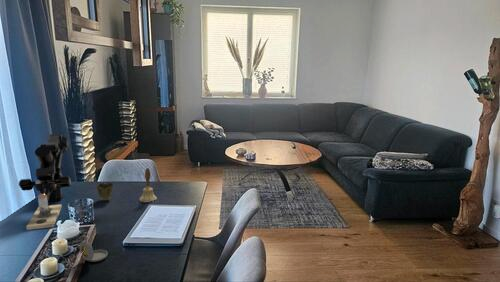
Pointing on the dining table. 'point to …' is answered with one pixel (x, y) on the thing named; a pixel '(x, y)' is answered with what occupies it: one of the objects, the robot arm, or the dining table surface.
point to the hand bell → (147, 189)
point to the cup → (105, 190)
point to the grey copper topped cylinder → (43, 206)
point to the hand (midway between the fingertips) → (44, 201)
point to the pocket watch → (91, 252)
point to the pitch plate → (44, 218)
